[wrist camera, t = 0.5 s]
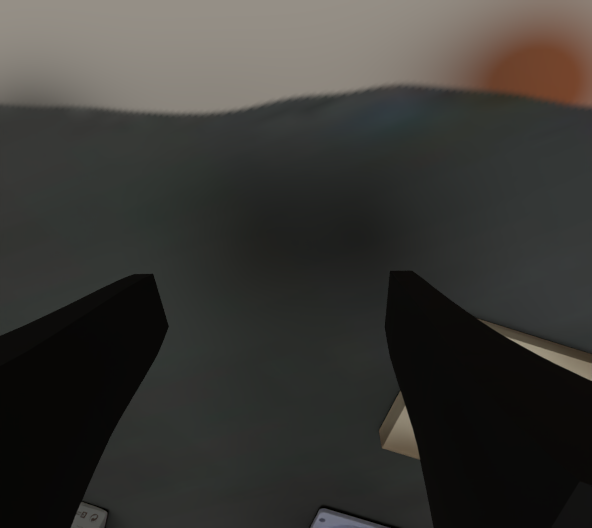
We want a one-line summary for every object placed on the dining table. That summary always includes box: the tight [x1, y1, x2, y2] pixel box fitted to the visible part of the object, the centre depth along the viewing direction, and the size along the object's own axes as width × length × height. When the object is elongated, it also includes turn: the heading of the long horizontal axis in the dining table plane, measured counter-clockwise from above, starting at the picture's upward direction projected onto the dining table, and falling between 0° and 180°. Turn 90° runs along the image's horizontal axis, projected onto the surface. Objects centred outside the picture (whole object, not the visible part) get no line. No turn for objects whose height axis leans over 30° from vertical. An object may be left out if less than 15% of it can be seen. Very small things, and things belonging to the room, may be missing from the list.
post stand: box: [379, 319, 592, 459], centre depth 21 cm, size 11×11×5 cm
